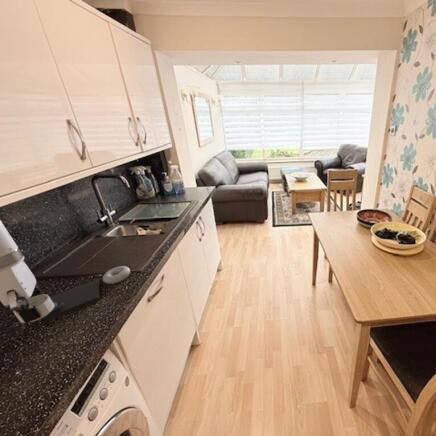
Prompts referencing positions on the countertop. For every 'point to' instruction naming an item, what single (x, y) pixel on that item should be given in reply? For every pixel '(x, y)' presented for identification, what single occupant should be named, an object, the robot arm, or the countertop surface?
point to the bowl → (39, 305)
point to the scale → (74, 299)
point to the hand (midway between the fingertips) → (36, 310)
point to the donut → (116, 275)
